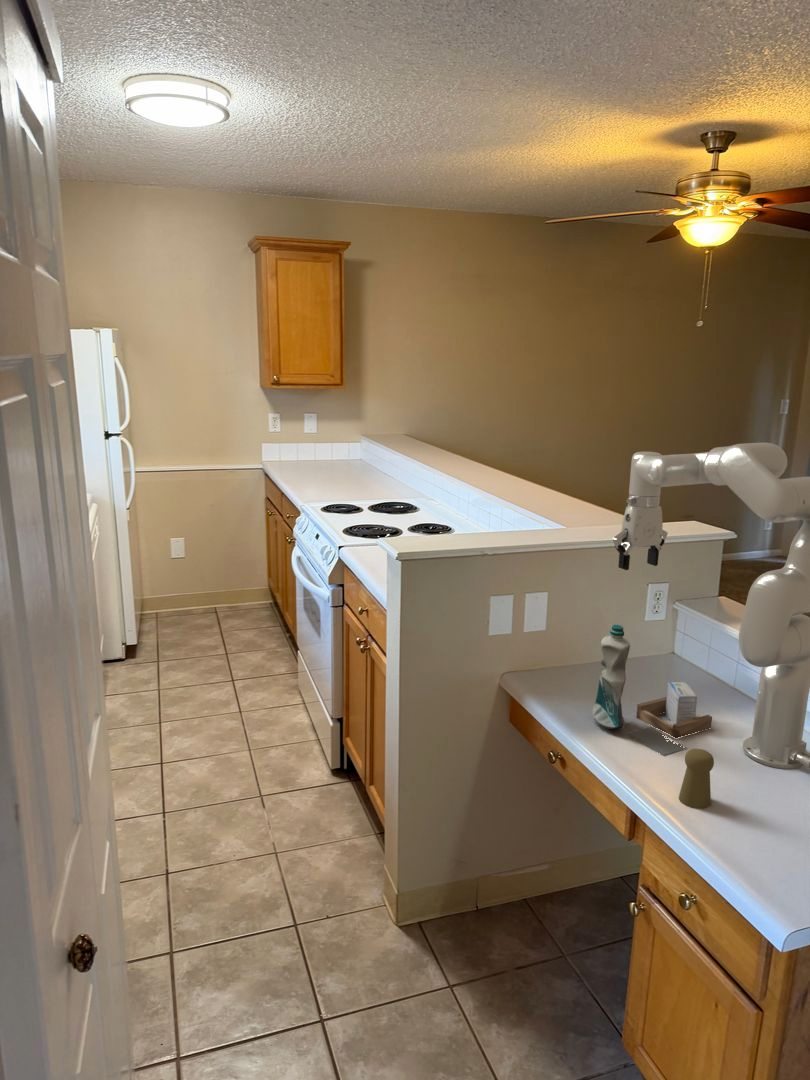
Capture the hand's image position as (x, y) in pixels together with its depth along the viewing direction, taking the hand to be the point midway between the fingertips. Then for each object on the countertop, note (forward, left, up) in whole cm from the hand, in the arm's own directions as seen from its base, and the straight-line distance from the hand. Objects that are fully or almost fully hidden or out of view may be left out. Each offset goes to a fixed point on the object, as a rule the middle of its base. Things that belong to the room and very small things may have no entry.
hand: (638, 566), depth 194 cm
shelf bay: (-23, +6, -32) cm, 40 cm away
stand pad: (-28, +18, -32) cm, 46 cm away
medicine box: (-24, +6, -32) cm, 40 cm away
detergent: (-18, +22, -32) cm, 43 cm away
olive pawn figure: (-49, +29, -32) cm, 65 cm away
